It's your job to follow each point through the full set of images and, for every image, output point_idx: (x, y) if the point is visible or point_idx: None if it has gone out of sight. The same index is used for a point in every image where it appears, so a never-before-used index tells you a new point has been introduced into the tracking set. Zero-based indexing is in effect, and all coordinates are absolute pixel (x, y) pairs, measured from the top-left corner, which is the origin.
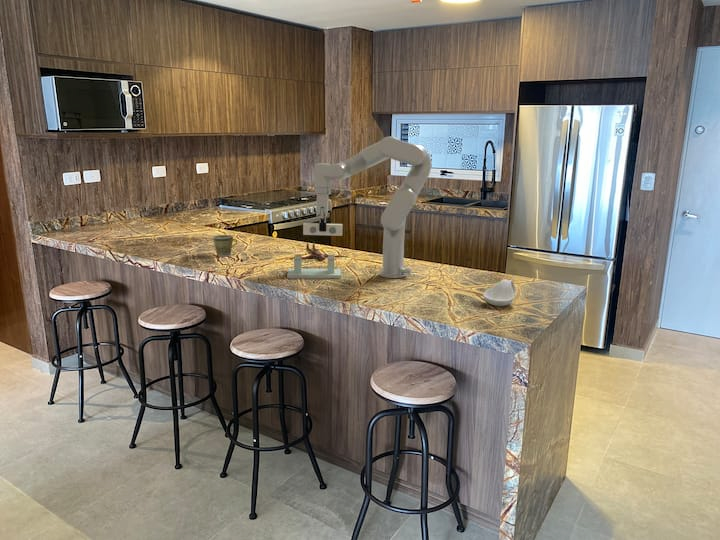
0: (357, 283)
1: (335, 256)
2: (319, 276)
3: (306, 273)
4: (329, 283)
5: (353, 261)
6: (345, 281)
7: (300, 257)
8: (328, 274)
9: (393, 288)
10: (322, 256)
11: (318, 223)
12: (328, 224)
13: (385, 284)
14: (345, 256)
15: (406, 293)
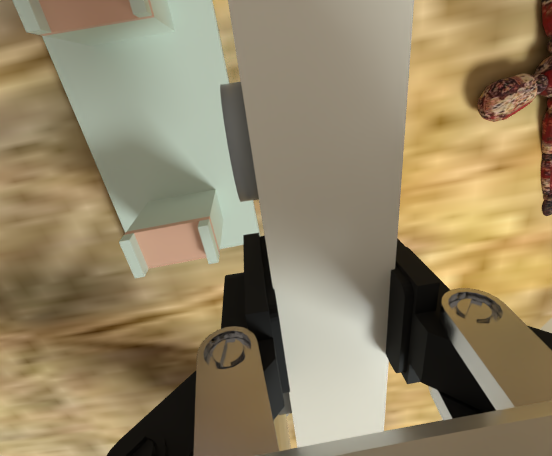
0: (93, 322)
1: (547, 161)
2: (100, 166)
3: (105, 83)
4: (38, 225)
5: (449, 252)
6: (103, 279)
7: (26, 29)
8: (130, 208)
9: (82, 418)
10: (493, 107)
11: (382, 249)
12: (312, 393)
13: (120, 395)
14: (544, 206)
15: (43, 449)
